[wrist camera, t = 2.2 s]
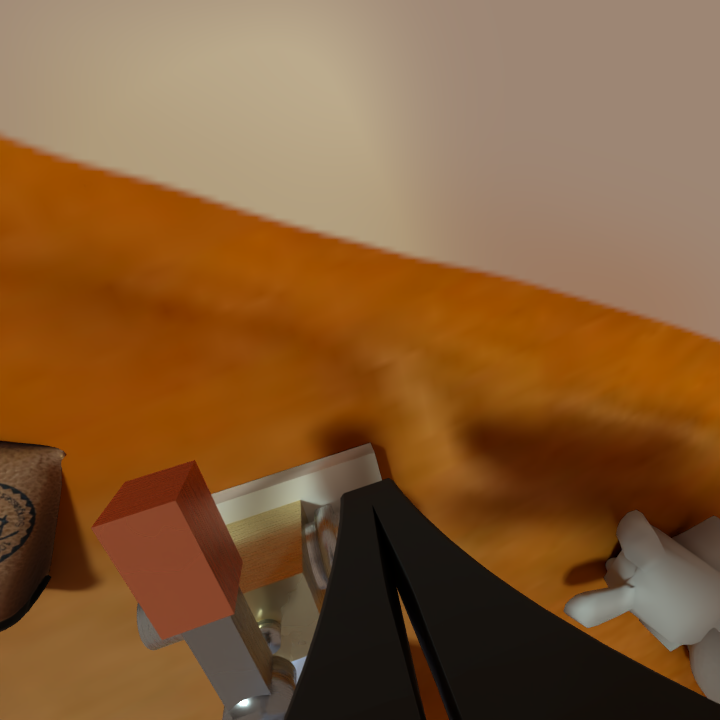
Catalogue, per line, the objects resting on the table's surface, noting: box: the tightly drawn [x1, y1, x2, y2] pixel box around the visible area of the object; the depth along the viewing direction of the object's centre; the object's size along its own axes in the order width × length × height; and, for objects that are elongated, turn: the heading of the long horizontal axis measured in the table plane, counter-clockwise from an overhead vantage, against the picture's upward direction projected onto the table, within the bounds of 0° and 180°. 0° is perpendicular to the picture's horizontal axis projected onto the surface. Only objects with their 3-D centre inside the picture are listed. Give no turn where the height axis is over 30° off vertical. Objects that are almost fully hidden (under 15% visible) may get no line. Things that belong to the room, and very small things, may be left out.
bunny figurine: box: [564, 510, 720, 651], centre depth 23 cm, size 10×5×15 cm
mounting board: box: [211, 443, 382, 525], centre depth 19 cm, size 13×7×1 cm, turn 104°
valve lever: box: [91, 460, 297, 720], centre depth 11 cm, size 10×2×2 cm, turn 14°
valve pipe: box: [137, 500, 340, 662], centre depth 17 cm, size 11×4×6 cm, turn 104°
